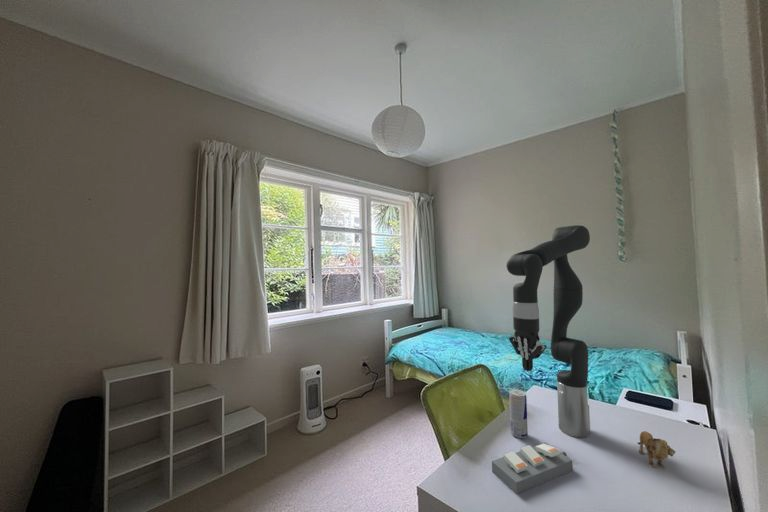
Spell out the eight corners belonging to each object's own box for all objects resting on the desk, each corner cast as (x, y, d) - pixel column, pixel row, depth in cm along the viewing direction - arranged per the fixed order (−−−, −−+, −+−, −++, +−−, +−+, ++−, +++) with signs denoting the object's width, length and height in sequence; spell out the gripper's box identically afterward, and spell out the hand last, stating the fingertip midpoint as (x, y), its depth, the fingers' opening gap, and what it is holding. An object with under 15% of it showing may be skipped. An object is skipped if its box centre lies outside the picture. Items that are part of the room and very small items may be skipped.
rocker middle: (528, 450, 88) (529, 444, 87) (542, 465, 83) (544, 460, 82) (519, 453, 86) (520, 447, 86) (533, 469, 82) (535, 463, 81)
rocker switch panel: (551, 449, 93) (551, 440, 94) (579, 467, 85) (579, 457, 85) (492, 471, 84) (491, 461, 84) (516, 493, 76) (516, 482, 76)
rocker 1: (512, 456, 85) (513, 450, 85) (526, 471, 80) (527, 465, 80) (503, 459, 84) (504, 453, 83) (517, 475, 79) (518, 468, 79)
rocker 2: (545, 450, 89) (543, 442, 90) (560, 456, 85) (558, 448, 85) (536, 453, 88) (535, 445, 88) (551, 459, 83) (550, 452, 84)
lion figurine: (679, 478, 80) (678, 445, 81) (656, 474, 82) (655, 442, 82) (646, 445, 95) (645, 418, 95) (627, 443, 96) (626, 416, 96)
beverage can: (529, 440, 99) (528, 396, 99) (512, 438, 100) (511, 395, 100) (525, 430, 104) (523, 389, 105) (508, 429, 105) (507, 388, 106)
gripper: (552, 318, 87) (555, 375, 87) (518, 312, 100) (519, 362, 99) (535, 320, 84) (537, 379, 84) (501, 313, 97) (503, 365, 96)
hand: (527, 370), depth 91 cm, fingers closed
